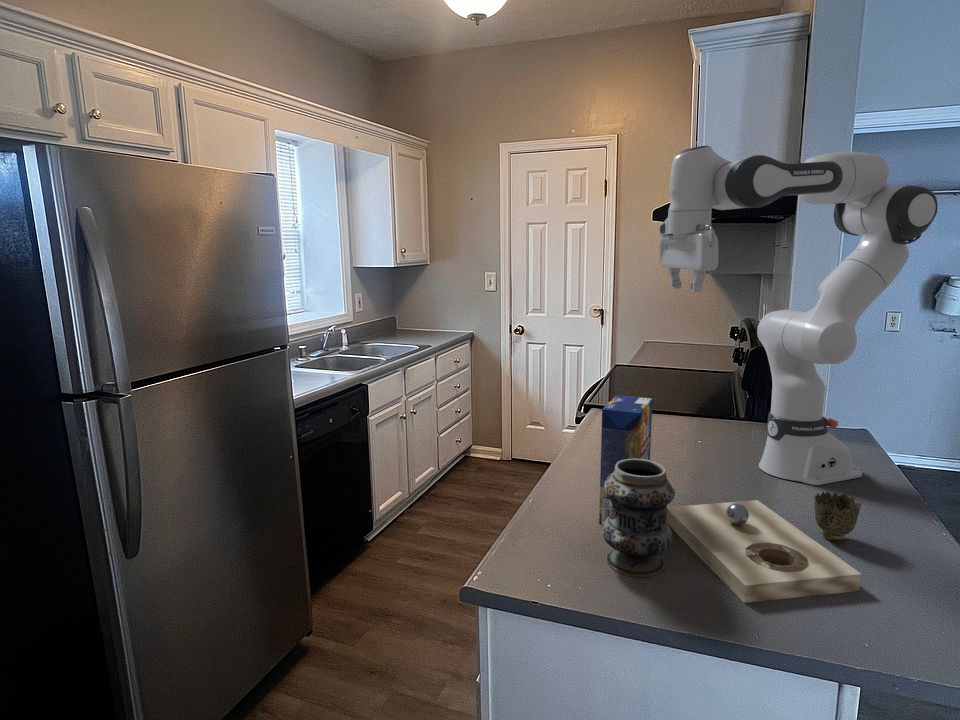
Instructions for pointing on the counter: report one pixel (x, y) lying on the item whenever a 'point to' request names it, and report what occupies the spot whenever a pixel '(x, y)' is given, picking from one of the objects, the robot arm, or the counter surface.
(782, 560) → the hole board
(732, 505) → the steel ball
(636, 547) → the apothecary jar
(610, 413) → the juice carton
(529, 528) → the counter surface
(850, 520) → the cup
